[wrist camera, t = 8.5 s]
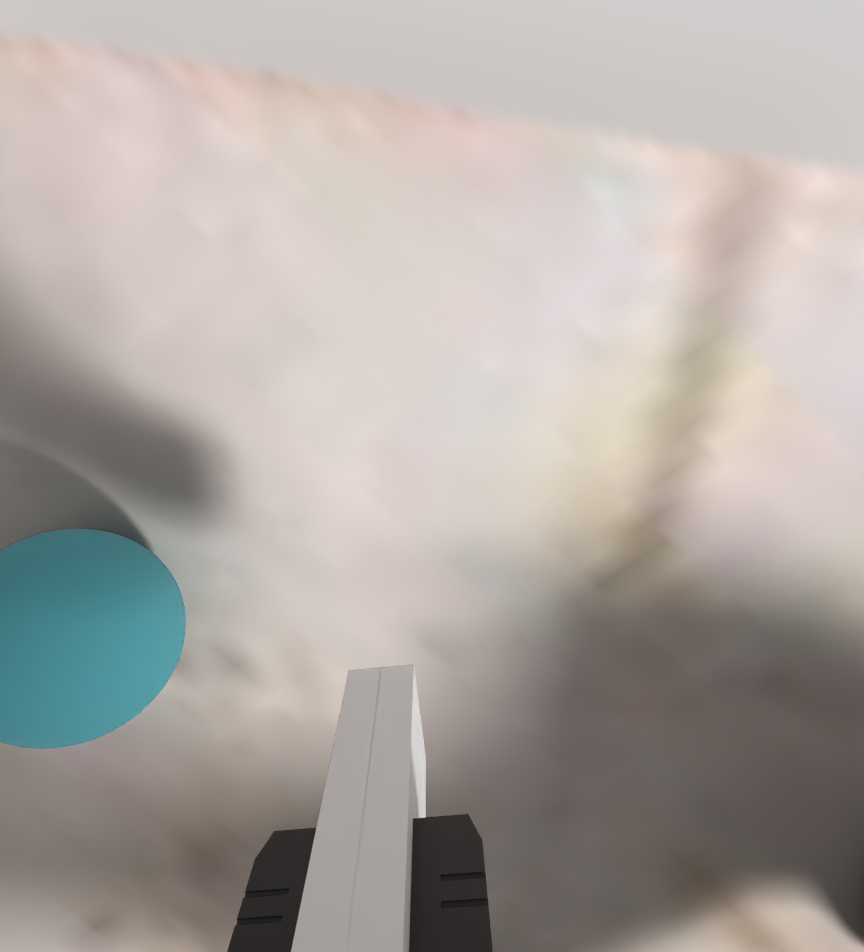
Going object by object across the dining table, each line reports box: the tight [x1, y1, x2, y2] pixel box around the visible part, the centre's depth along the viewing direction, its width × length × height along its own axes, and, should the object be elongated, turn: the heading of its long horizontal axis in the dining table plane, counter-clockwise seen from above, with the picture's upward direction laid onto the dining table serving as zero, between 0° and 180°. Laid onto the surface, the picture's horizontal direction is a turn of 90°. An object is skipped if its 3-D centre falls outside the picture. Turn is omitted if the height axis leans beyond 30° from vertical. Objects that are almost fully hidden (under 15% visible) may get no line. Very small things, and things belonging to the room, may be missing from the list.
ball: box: [0, 528, 186, 748], centre depth 17 cm, size 6×6×6 cm
